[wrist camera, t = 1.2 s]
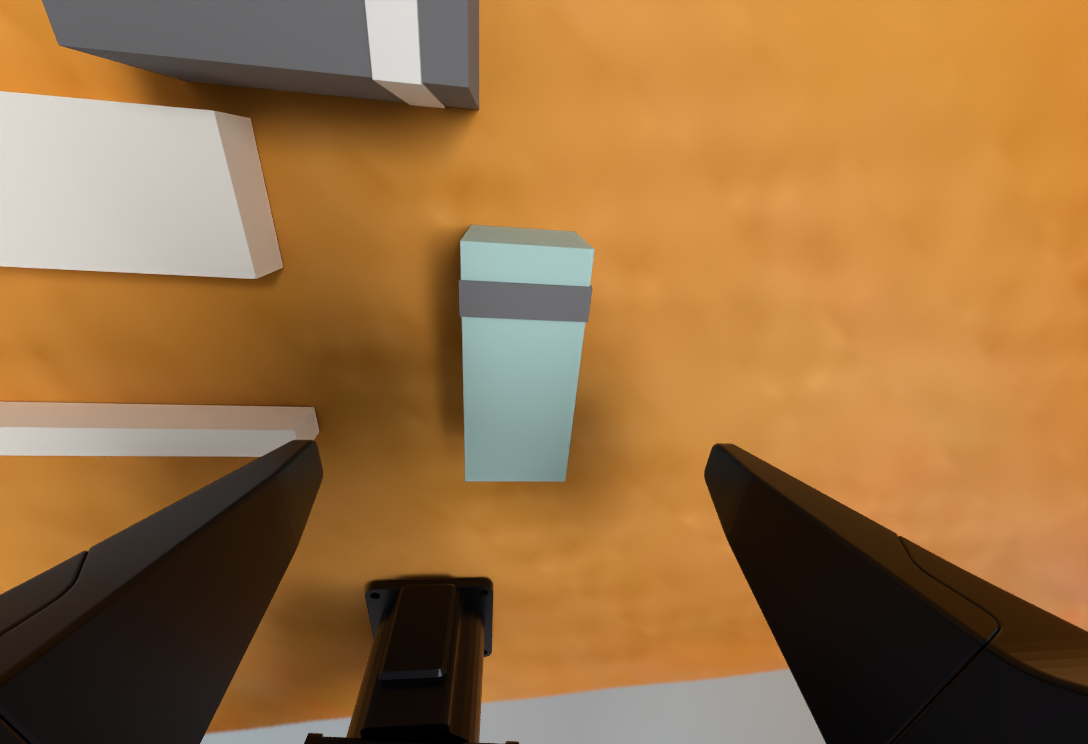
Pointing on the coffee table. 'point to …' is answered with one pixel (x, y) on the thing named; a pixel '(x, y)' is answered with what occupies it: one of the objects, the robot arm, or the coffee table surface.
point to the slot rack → (136, 251)
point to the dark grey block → (290, 44)
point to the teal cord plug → (521, 348)
